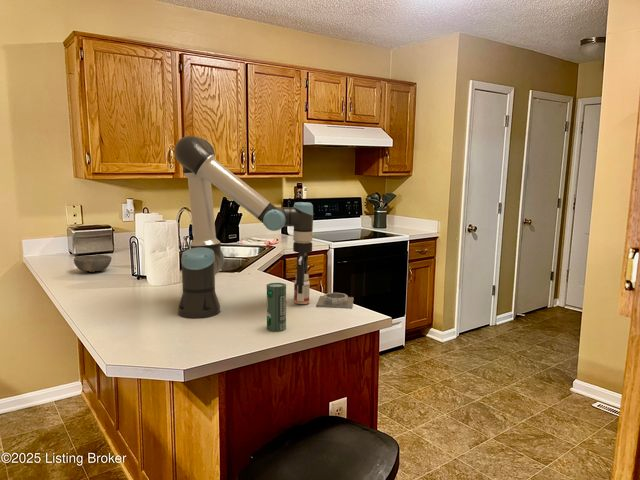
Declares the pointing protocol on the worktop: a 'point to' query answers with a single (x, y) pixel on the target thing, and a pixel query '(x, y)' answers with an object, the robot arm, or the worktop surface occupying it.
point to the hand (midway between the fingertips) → (301, 298)
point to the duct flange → (335, 301)
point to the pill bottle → (306, 290)
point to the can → (276, 307)
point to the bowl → (92, 262)
